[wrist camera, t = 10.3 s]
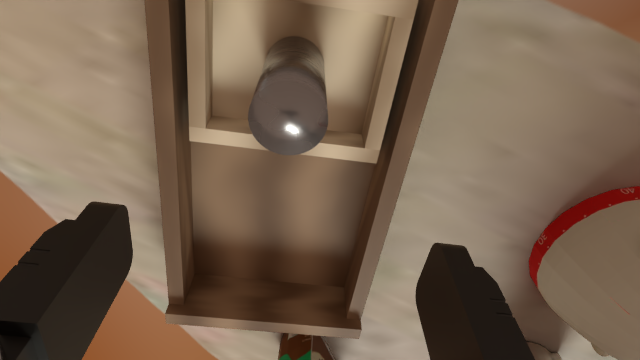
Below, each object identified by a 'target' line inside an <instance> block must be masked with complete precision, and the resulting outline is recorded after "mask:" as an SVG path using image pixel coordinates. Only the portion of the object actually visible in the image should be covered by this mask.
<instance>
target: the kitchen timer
mask: <svg viewBox="0 0 640 360" xmlns="http://www.w3.org/2000/svg"><path fill="white" fill-rule="evenodd" d="M529 270H530V276H531V278H532V280H533V281H534V283H535V285H536V287H537V288H538V290H539V291H540V293H541V295H542V296H543V298H544V300H545V301H546V302H547V304H548V305H549V306H550V307H551V308H552V309H553V311H554V312H555V313H556V314H557V315H559V316H560V317H561V318H562V319H563V320H564V321H565V322H566V323H568V324H569V325H570V326H571V327H572V328H573V329H575V330H576V331H577V332H578V333H579V334H581V335H582V336H583V337H584V338H585V339H587V340H588V341H590V342H591V344H592V347H593V348H594V350H595V351H596V352H597V353H598V354H599V355H601V356H609V355H611V356H612V357H614V358H616V359H618V360H640V187H639V186H636V187H629V188H622V189H616V190H611V191H608V192H605V193H602V194H599V195H597V196H594V197H591V198H588V199H586V200H584V201H582V202H581V203H579V204H577V205H575V206H574V207H572V208H570V209H569V210H567V211H565V212H564V213H562V214H561V215H560V216H559V217H558V218H557V219H556V220H554V221H553V222H552V223H551V224H550V225H549V226H548V227H547V228H546V229H545V230H544V232H543V233H542V234H541V236H540V237H539V239H538V240H537V241H536V243H535V244H534V247H533V250H532V253H531V256H530V259H529Z"/></svg>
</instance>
